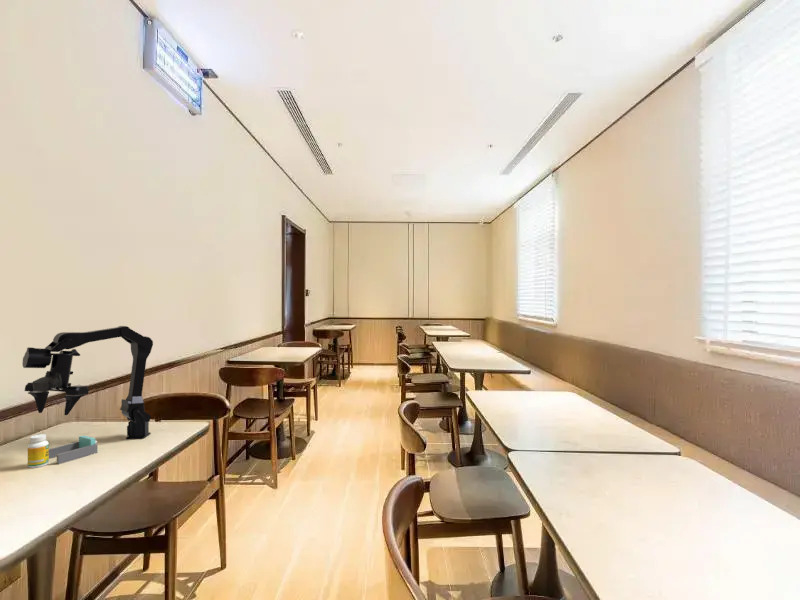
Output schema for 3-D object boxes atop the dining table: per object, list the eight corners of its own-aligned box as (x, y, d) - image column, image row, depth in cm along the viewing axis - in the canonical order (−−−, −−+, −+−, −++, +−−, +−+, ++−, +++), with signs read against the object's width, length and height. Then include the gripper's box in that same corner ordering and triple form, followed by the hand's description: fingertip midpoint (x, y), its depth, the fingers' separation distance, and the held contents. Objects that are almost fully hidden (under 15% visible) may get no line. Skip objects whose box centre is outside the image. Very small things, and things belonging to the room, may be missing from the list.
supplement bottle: (27, 464, 144) (27, 435, 144) (48, 461, 147) (48, 432, 147) (27, 469, 140) (27, 439, 140) (48, 465, 143) (48, 436, 143)
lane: (88, 446, 162) (88, 433, 162) (104, 450, 157) (104, 436, 157) (42, 459, 149) (42, 444, 149) (58, 464, 144) (58, 448, 144)
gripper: (14, 367, 146) (5, 415, 144) (68, 371, 145) (60, 420, 143) (42, 365, 157) (34, 410, 155) (93, 370, 156) (85, 415, 155)
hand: (53, 413), depth 152 cm, fingers open, 9 cm apart
